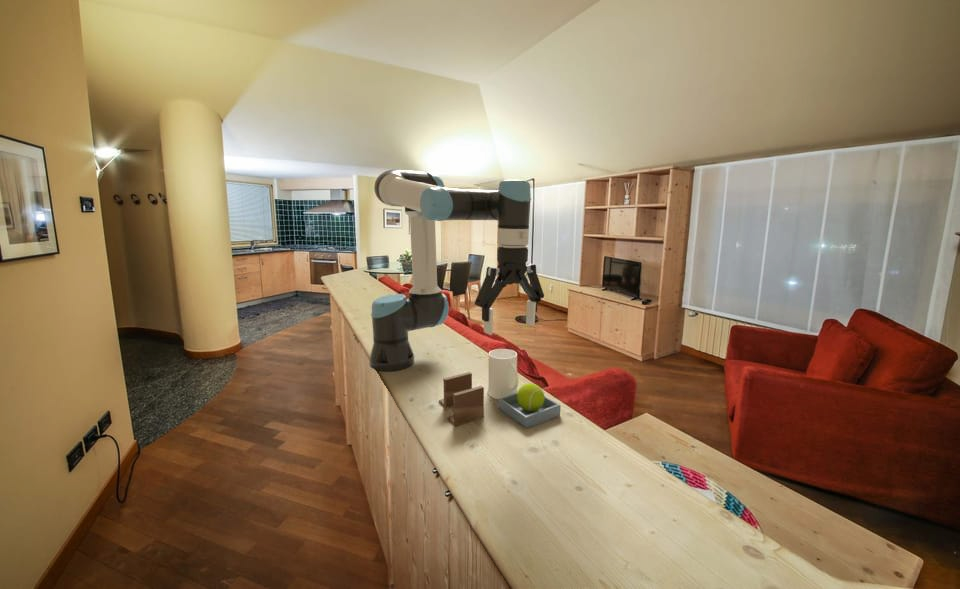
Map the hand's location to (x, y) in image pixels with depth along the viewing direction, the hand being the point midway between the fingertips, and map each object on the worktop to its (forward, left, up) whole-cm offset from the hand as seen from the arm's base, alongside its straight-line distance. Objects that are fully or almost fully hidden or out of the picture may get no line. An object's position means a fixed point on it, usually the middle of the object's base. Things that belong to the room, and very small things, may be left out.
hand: (510, 329), depth 96 cm
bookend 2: (-1, -13, -21) cm, 25 cm away
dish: (+6, +2, -21) cm, 22 cm away
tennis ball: (+6, +3, -21) cm, 22 cm away
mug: (-5, +3, -22) cm, 22 cm away
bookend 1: (-10, -11, -21) cm, 26 cm away
